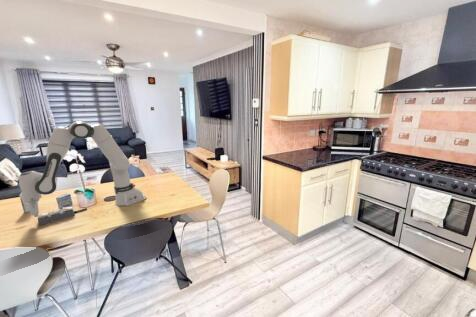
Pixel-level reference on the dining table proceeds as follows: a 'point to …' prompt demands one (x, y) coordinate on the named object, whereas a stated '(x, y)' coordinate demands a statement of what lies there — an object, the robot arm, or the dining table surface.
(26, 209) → the syrup box
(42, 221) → the power strip
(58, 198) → the medicine box
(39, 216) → the rocker
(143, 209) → the dining table surface
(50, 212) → the rocker
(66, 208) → the rocker
